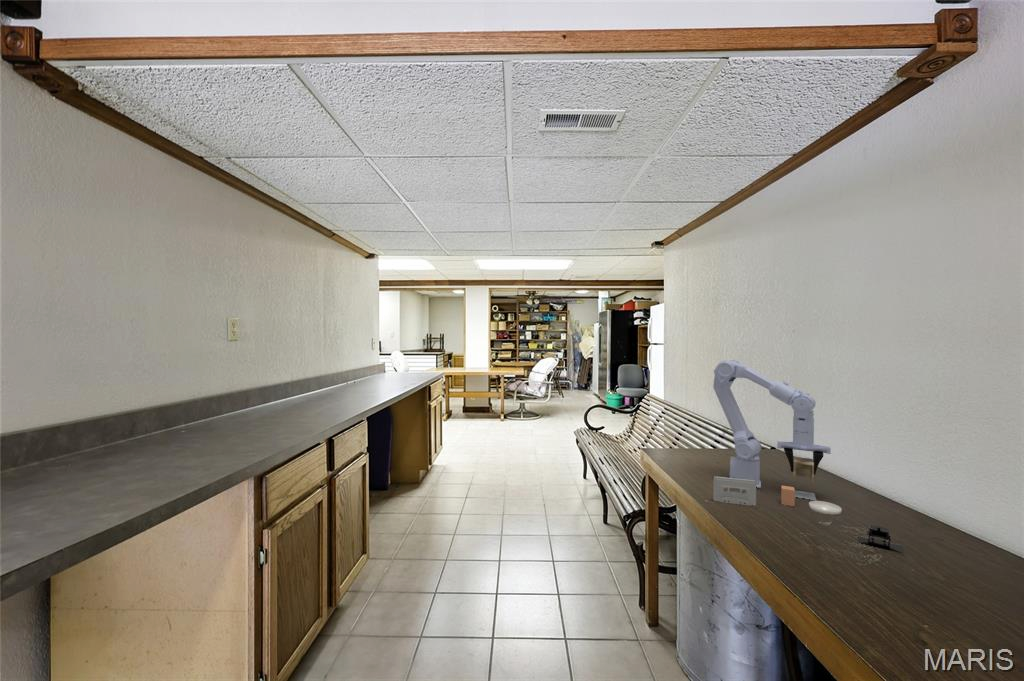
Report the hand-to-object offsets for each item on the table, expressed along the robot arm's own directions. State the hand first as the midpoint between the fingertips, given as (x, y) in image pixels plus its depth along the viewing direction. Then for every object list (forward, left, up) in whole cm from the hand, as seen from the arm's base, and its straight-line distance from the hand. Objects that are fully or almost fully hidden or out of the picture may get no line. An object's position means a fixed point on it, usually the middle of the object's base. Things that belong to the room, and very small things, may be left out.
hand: (802, 472), depth 145 cm
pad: (0, 0, -8) cm, 8 cm away
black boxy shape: (+14, -31, -8) cm, 35 cm away
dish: (+5, -11, -8) cm, 14 cm away
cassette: (-19, -19, -8) cm, 28 cm away
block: (-5, -11, -8) cm, 14 cm away
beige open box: (0, 0, -2) cm, 2 cm away
